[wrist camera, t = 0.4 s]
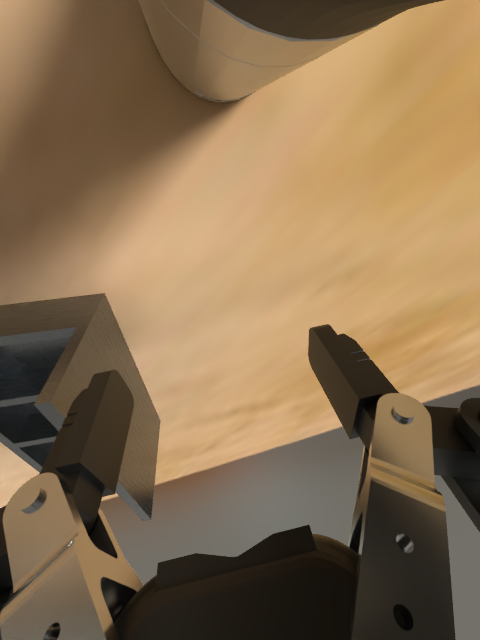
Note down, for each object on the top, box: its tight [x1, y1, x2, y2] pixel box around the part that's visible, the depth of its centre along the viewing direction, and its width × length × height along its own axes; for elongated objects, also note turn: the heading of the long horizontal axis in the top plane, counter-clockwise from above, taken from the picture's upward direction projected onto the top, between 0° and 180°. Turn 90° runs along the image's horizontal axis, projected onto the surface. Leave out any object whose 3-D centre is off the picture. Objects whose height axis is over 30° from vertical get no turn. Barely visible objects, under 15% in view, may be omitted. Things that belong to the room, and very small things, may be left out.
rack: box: [0, 293, 160, 521], centre depth 28 cm, size 25×16×14 cm, turn 2°
